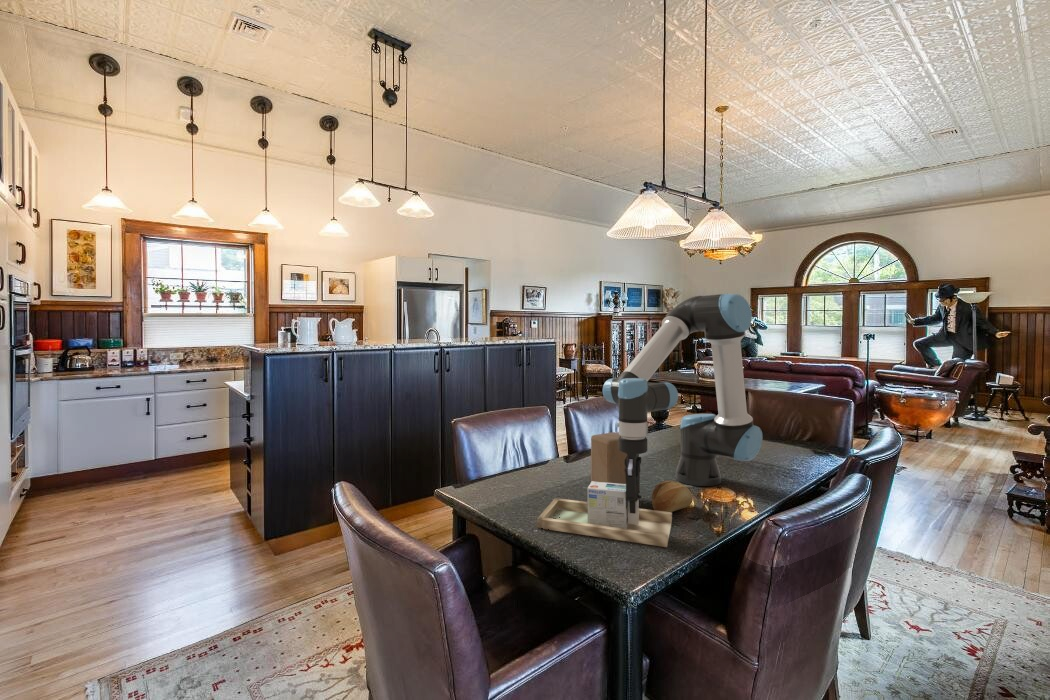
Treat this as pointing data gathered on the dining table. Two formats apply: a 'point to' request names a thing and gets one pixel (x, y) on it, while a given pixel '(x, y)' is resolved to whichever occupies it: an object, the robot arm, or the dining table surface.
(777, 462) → the dining table surface
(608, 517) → the light bulb box
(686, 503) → the bread roll
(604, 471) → the block
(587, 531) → the birch trough
